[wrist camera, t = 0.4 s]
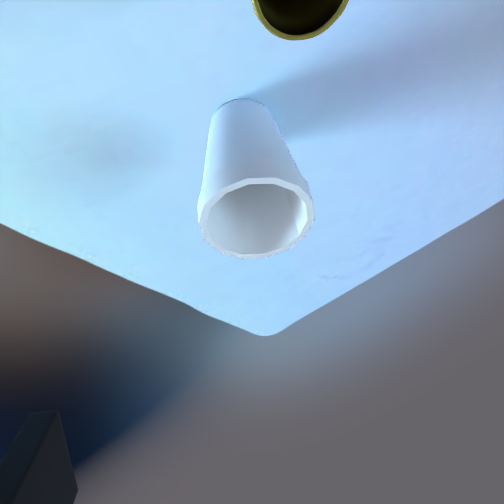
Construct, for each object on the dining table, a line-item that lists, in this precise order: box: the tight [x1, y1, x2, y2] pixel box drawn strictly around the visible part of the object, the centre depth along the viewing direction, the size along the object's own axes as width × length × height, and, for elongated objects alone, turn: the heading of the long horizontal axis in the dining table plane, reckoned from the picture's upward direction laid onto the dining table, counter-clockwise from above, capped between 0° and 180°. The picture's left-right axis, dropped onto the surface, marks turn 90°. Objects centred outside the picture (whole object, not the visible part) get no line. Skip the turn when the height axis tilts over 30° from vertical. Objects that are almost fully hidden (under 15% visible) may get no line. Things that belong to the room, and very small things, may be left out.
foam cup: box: [197, 99, 315, 259], centre depth 42 cm, size 10×9×13 cm
